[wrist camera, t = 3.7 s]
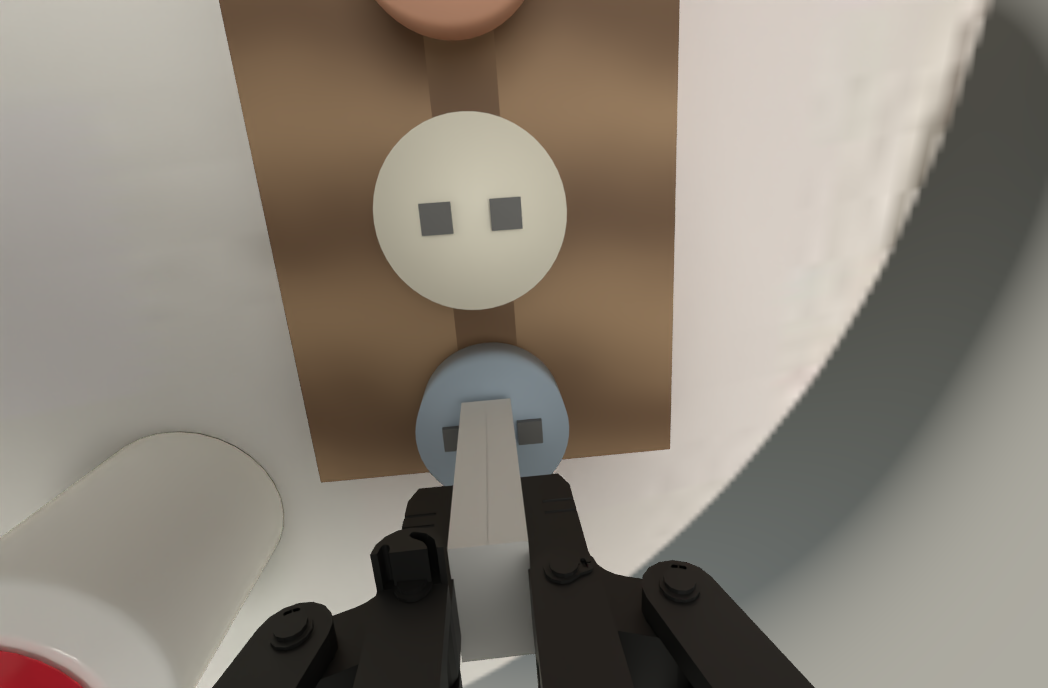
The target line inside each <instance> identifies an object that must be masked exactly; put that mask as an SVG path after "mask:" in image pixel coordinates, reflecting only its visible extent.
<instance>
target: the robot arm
mask: <svg viewBox="0 0 1048 688" xmlns="http://www.w3.org/2000/svg"><path fill="white" fill-rule="evenodd" d="M370 557H371V562H372V567H373V572H374V578H375V583H376V588H377V594H376V596H375V597H374V598H372V599H371V600H369V601H368V602H366V603H364V604H362V605H360V606H358V607H355V608H353V609H350V610H348V611H345V612H342V613H339V614H337V615H334V616H332V614H331V612H330V611H329V610H328V609H327V607H326V606H325V605H322V604H318V603H315V602H306V603H298V604H295V605H292V606H289V607H286V608H284V609H282V610H280V611H279V612H277V613H276V614H274V615H272V616H271V617H269V618H268V619H267V620H266V621H265V622H264V623H263V624H262V625H261V626H260V627H259V628H258V629H257V631H256V632H255V633H254V634H253V636H252V637H251V638H250V640H249V641H248V642H247V644H246V645H245V646H244V647H243V649H242V650H241V651H240V653H239V654H238V655H237V656H236V658H235V659H234V660H233V662H232V663H231V664H230V665H229V667H228V668H227V669H226V671H225V672H224V673H223V675H222V676H221V677H220V678H219V680H218V681H217V682H216V684H215V685H214V686H213V687H212V688H462V680H461V673H460V654H461V656H462V662H468V661H476V660H485V659H493V658H502V657H510V656H519V655H527V654H536V665H537V678H538V688H814V686H813V685H811V683H810V682H809V681H808V680H807V679H806V678H805V677H804V676H803V675H802V674H801V672H800V671H798V669H797V668H796V667H795V666H794V665H793V664H792V663H791V662H790V661H789V660H788V659H787V657H786V656H785V655H784V654H783V653H782V652H781V651H780V650H779V649H778V648H777V647H776V646H775V645H774V643H773V642H772V641H771V640H770V639H769V638H768V637H767V636H766V635H765V634H764V633H763V632H762V631H761V630H760V629H759V628H758V626H757V625H756V624H755V623H754V622H753V621H752V620H751V619H750V618H749V617H748V616H747V615H746V613H745V612H744V611H743V610H742V609H741V608H740V607H739V606H738V605H737V604H736V603H735V602H734V601H733V600H732V599H731V597H730V596H729V595H728V594H727V593H726V592H725V591H724V590H723V589H722V588H721V587H720V585H719V584H718V583H717V582H716V581H715V580H714V579H713V578H712V577H711V576H710V575H709V574H707V573H706V572H705V571H703V570H702V569H701V568H699V567H697V566H695V565H692V564H690V563H687V562H681V561H674V560H671V561H664V562H659V563H657V564H655V565H653V566H651V567H649V568H648V569H647V571H646V572H645V573H644V575H643V579H640V578H633V577H626V576H621V575H617V574H614V573H611V572H609V571H607V570H605V569H603V568H602V567H600V566H599V565H598V564H597V563H596V562H595V560H594V558H593V557H592V556H590V554H589V552H588V548H587V545H586V541H585V538H584V534H583V531H582V527H581V524H580V520H579V517H578V513H577V511H576V506H575V502H574V500H573V495H572V492H571V488H570V485H569V483H568V482H567V481H565V480H564V479H563V478H562V477H561V476H560V475H559V474H548V475H538V476H528V477H520V471H519V463H518V455H517V447H516V439H515V431H514V423H513V415H512V407H511V399H510V398H508V399H497V400H486V401H475V402H464V403H461V412H460V422H459V432H458V443H457V453H456V463H455V474H454V484H453V485H452V486H442V487H432V488H422V489H419V490H418V491H417V492H416V493H415V494H414V495H413V497H412V498H411V499H410V500H409V501H408V504H407V508H406V513H405V519H404V521H403V526H402V530H399V531H396V532H394V533H392V534H390V535H388V536H386V537H385V538H383V539H382V540H381V541H380V542H379V543H378V544H376V545H375V547H374V549H373V551H372V552H371V554H370Z"/></svg>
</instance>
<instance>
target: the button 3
mask: <svg viewBox="0 0 1048 688" xmlns="http://www.w3.org/2000/svg"><path fill="white" fill-rule="evenodd" d="M508 398H510V399H511V407H512V415H513V423H514V431H515V439H516V447H517V455H518V463H519V471H520V477H528V476H538V475H548V474H552V473H553V472H554V470H555V469H556V468H557V466H558V465H559V463H560V462H561V460H562V458H563V455H564V453H565V450H566V447H567V444H568V438H569V421H568V415H567V412H566V408H565V405H564V402H563V400H562V397H561V394H560V391H559V388H558V386H557V383H556V381H555V379H554V377H553V375H552V374H551V372H550V370H549V369H548V368H547V367H546V365H545V364H544V363H543V362H542V361H541V360H539V359H538V358H537V357H536V356H534V355H533V354H531V353H530V352H528V351H526V350H524V349H522V348H519V347H517V346H514V345H510V344H505V343H496V342H493V343H481V344H475V345H472V346H468V347H466V348H463V349H461V350H459V351H457V352H455V353H454V354H452V355H450V356H449V357H448V358H447V359H445V360H444V361H443V362H442V363H441V364H440V365H439V366H438V367H437V369H436V370H435V371H434V372H433V374H432V376H431V377H430V379H429V381H428V383H427V386H426V389H425V392H424V395H423V399H422V402H421V406H420V409H419V412H418V417H417V421H416V431H415V433H416V443H417V447H418V451H419V454H420V456H421V459H422V461H423V462H424V464H425V466H426V467H427V469H428V470H429V472H430V473H431V474H432V475H433V476H434V477H435V478H436V479H437V480H438V481H439V482H440V483H442V484H443V485H444V486H452V485H453V484H454V474H455V463H456V453H457V443H458V432H459V422H460V412H461V403H464V402H475V401H486V400H497V399H508Z"/></svg>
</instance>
